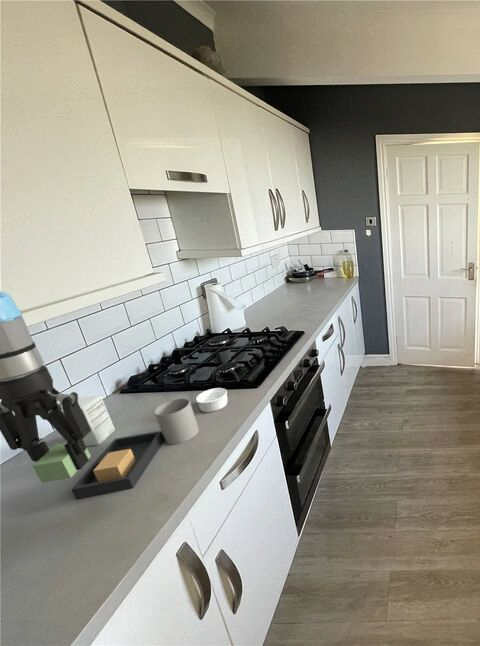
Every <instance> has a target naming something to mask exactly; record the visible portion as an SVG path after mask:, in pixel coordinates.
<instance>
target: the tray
mask: <svg viewBox="0 0 480 646" xmlns="http://www.w3.org/2000/svg"><path fill="white" fill-rule="evenodd" d="M164 442H165V440H164V437H163V434H162V432H161V430H159V431H153V432H148V433H147V432H146V433H141V434H134V435H129V436H123V437H118V438H117V437H116V438H114V439H113V440H112V441H111V443H110V444H109V445H108V446H107V447H106V448H105V449H104V451H103V452H102V453H101V454H100V455H99V456H98V458H97V459H96V460H95V461H94V462H93V463H92V465H91V466H90V467H89V468H88V469H87V470H86V472H85V473H84V474H83V475H82V476H81V477H80V478H79V480H78V481H77V482H76V483H75V484H74V485H73V486H72V488H71V489H70V490H71V492H72V494H73V496H74V498H75V500H81V499H85V498H90V497H95V496H100V495H105V494H110V493H115V492H120V491H125V490H129V489H133V488H135V486H136V484H137V483H138V481H139V480H140V478H141V477H142V476H143V474H144V472H146V469H147V468H148V466H149V465H150V463H151V462H152V460H153V458H154V457H155V455H156V454H157V452H158V451H159V449H160V448H161V447H162V445H163V443H164ZM127 449H131V451H132V453H133V455H134V458H135V460H136V463H135V465H134V466H133V468H132V469H131V470H130V472H129V473H128V475H127V476H126V477H123V478H118V479H113V480H107V481H102V482H98V480H97V478H96V476H95V474H94V472H93V470H94V469H95V468H96V467H97V466H98V464H99V463H100V462H101V461H102V460H103V458H104V457H105V456H106V455H107V454H108V453H110V452H115V451H121V450H127Z"/></svg>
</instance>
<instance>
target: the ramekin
mask: <svg viewBox="0 0 480 646" xmlns="http://www.w3.org/2000/svg"><path fill="white" fill-rule="evenodd" d="M195 401H196V403H197V405H198V406H199V409H200V411H202V412H204V413H214V412H217V411H219V410H221V409H223V408H225V407H226V406H227V404H228V402H229V401H228V390H227V389H226V388H222V387H215V388H210V389H207V390H205V391H202V392H201V393H199V394H198V395H197V396H196V398H195Z"/></svg>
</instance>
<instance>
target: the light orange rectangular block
mask: <svg viewBox="0 0 480 646" xmlns="http://www.w3.org/2000/svg"><path fill="white" fill-rule="evenodd" d="M135 463H136V460H135V458H134V455H133V453H132V451H131V449H127V450H121V451H115V452H110V453H108V454H107V455H106V456H105V457H104V458H103V460H102V461H101V462H100V463H99V464H98V466H97V467H96V468H95V469H94V470H93V472H94V474H95V476H96V478H97V480H98V482H102V481H107V480H113V479H118V478H123V477H126V476H127V475H128V473H129V472H130V470H131V469H132V468H133V466H134V465H135Z"/></svg>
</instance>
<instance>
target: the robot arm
mask: <svg viewBox="0 0 480 646" xmlns="http://www.w3.org/2000/svg"><path fill="white" fill-rule="evenodd" d="M44 364H45V361H44V359H43V357H42V355H41V353H40V351H39V349H38V347H37V345H36V342H35V341H34V340H33V338H32V335H31V333H30V331H29V329H28V326H27V324H26V322H25V319H24V317H23V313H22V311H21V310H20V309H19V308H18V306H17V304H16V302H15V300H14V299H13V297H12V296H11V294H9V293H7V292H4V291H0V433H1V434H2V437H3V438H4V440H5V442H6V444H7V446H8V447H9V449H10V450H13V451H16V450H18V449H20V450H23V451H25V452H27V455H28V456H29V458H30V460H31V462H34V463H36V462H37V461H38V460H39V459H40V458H42V457H43V456H44V455H45V454H46V453H47V452H48V451H49V450H50V448H49V446H48V444H47V443H46V441H42V440H43V438H42V437H41V438H40V436H39V428H38V421H37V416H38V417H40V418H41V419H42V420H44V421H47V422H48V423H49V424H50V425H51V426H52V428H54V429H55V430H56V432H57V433H58V434H59V435H60V436H61V437H62V438H63V439H64V440H65V441H66V442H65V443H66V444H65V445H64V446H65V448H66V450H67V452H68V454H69V456H70V458H71V460H72V462H73V464H74V465H75V467H76V469H77V470H78V471H79V470H82V469H83V467H84V466H86V464H87V463H88V462H89V461H90V460H89V459H88V457H87V455H86V453H85V450H86V447H87V446H86V445H85V443H84V441H83V438H84V437H85V436H86V435H87V434H88V433H89V432H90V431H91V429H90V426H89V424H88V422H87V420H86V418H85V416H84V414H83V412H82V410H81V408H80V406H79V404H78V398H79V393H77V392H75V391H73V392H70V393H69V394H68V393H61V392H59V390H57V389H56V388H55V387H54V379H53V377H52V375H51V373H50V371H49V369H48V367H47V366H45V365H44ZM58 402H59V403H58ZM61 406H62V407H61ZM62 409H63V412H64V413H63V412H62Z"/></svg>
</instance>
